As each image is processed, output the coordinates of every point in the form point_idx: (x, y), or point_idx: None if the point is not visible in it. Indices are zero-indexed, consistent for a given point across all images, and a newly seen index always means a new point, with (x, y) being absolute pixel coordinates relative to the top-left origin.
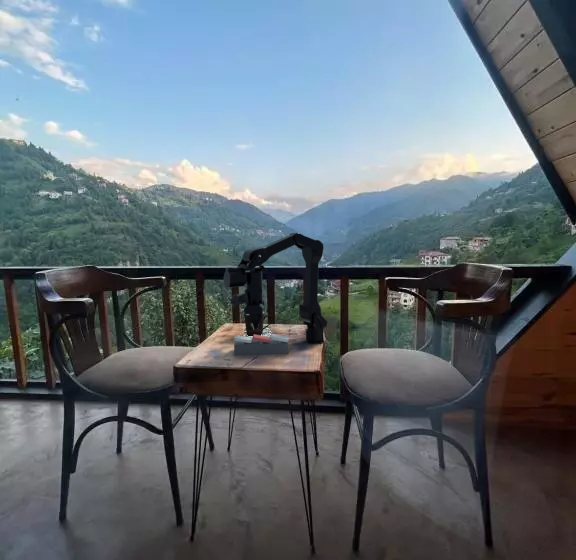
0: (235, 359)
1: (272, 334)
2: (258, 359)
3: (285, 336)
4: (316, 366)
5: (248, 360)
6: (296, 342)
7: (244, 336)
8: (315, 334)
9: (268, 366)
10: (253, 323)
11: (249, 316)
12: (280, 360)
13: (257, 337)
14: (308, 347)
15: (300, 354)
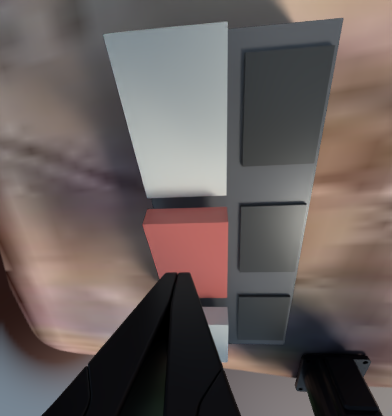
0: (85, 75)
1: (213, 326)
2: (108, 200)
3: (222, 357)
4: (80, 351)
5: (85, 155)
6: (333, 325)
7: (221, 134)
8: (314, 408)
9: (38, 242)
10: (125, 331)
11: None
12: (111, 276)
13: (157, 247)
14: (257, 350)
15: None
